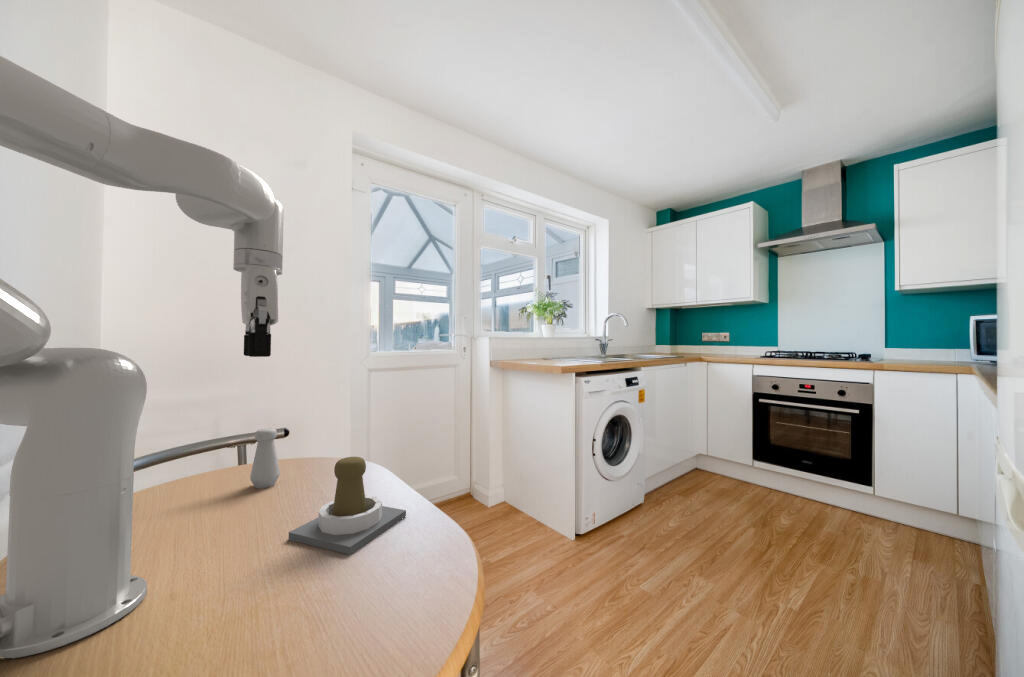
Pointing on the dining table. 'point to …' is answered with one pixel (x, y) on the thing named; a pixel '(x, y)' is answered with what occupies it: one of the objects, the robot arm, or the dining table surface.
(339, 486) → the cork
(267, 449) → the salt shaker
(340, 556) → the dining table surface
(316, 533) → the mat
